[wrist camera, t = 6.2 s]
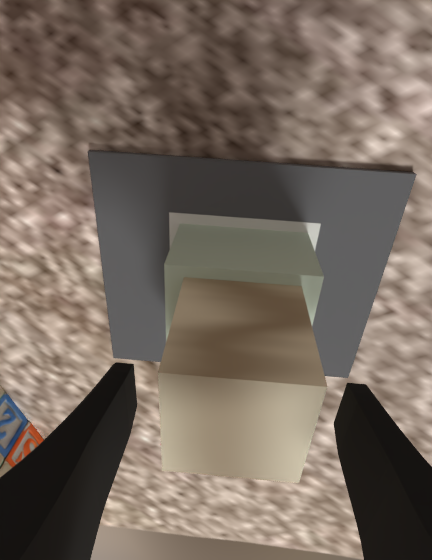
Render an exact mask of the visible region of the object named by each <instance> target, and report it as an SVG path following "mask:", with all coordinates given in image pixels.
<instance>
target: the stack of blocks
mask: <svg viewBox="0 0 432 560" xmlns="http://www.w3.org/2000/svg"><path fill="white" fill-rule="evenodd" d="M42 441H44V440H43V438H42V437H41V436H40V435H39V433H38V432H37V430H36V429H35V428H34V427H33V425H32V424H31V423H30V422H28V421H27V419H26V417H25V416H24V415H23V413H22V412H21V411H20V410H19V408H18V407H17V406H16V405H15V403H14V402H13V401H12V399H11V398H10V397H9V395H8V394H7V393H5V392H4V390H3V388H2V387H1V386H0V477H1V476H3V475H4V474H5V473H6V472H7V471H9V470H10V469H11V468H12V467H14V466H15V465H16V464H17V463H19V462H20V461H21V460H22V459H23V458H24V457H26V456H27V455H28V454H29V453H30V452H31V451H33V450H34V449H35V448H36V447H37V446H38V445H39V444H40V443H41V442H42Z"/></svg>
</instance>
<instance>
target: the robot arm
mask: <svg viewBox="0 0 432 560" xmlns="http://www.w3.org/2000/svg"><path fill="white" fill-rule="evenodd" d="M136 408H137V398H136V386H135V375H134V364H127V363H115V364H113V365H112V367H111V368H110V369H109V370H108V372H107V373H106V374H105V375H104V376H103V378H102V379H101V380H100V381H99V382H98V384H97V385H96V386H95V387H94V388H93V390H92V391H91V392H90V393H89V394H88V395H87V396H86V397H85V399H84V400H83V401H82V402H81V403H80V404H79V405H78V406H77V407H76V408H75V410H74V411H73V412H72V413H71V414H70V415H69V416H68V417H67V418H66V419H65V420H64V421H63V422H62V423H61V424H60V425H59V426H58V427H57V428H56V429H55V430H54V431H53V432H52V433H51V434H50V435H49V436H48V437H47V438H46V439H45V440H44V441H42V442H41V443H40V444H39V445H38V446H37V447H36V448H35V449H34V450H33V451H31V452H30V453H29V454H28V455H27V456H26V457H24V458H23V459H22V460H21V461H20V462H19V463H17V464H16V465H15V466H14V467H12V468H11V469H10V470H9V471H7V472H6V473H5V474H4V475H3V476H1V477H0V560H90V558H91V554H92V550H93V546H94V543H95V539H96V535H97V531H98V528H99V524H100V520H101V516H102V513H103V510H104V507H105V504H106V501H107V498H108V495H109V492H110V489H111V487H112V484H113V481H114V478H115V476H116V473H117V470H118V467H119V464H120V462H121V459H122V456H123V453H124V451H125V448H126V445H127V442H128V439H129V436H130V433H131V429H132V425H133V421H134V417H135V412H136ZM334 428H335V436H336V443H337V449H338V455H339V459H340V463H341V467H342V471H343V474H344V478H345V482H346V486H347V489H348V493H349V497H350V500H351V504H352V508H353V512H354V515H355V519H356V523H357V527H358V531H359V535H360V540H361V545H362V550H363V556H364V560H432V467H431V466H430V465H429V463H428V462H427V461H426V460H425V459H424V458H423V457H422V455H421V454H420V453H419V452H418V451H417V449H416V448H415V447H414V446H413V445H412V443H411V442H410V441H409V440H408V438H407V437H406V436H405V435H404V433H403V432H402V431H401V430H400V429H399V427H398V426H397V425H396V423H395V422H394V421H393V420H392V418H391V417H390V416H389V414H388V413H387V412H386V410H385V409H384V408H383V406H382V405H381V404H380V402H379V401H378V400H377V398H376V397H375V396H374V394H373V393H372V392H371V390H370V389H369V388H368V387H367V385H366V384H354V383H347V385H346V388H345V391H344V394H343V397H342V400H341V403H340V406H339V409H338V412H337V415H336V418H335V421H334Z"/></svg>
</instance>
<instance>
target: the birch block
mask: <svg viewBox="0 0 432 560" xmlns="http://www.w3.org/2000/svg"><path fill="white" fill-rule="evenodd" d="M158 386H159V409H160V431H161V454H162V471H171V472H182V473H192V474H203V475H214V476H225V477H236V478H247V479H258V480H268V481H279V482H290V483H299V481H300V477H301V474H302V470H303V467H304V464H305V460H306V457H307V454H308V450H309V447H310V444H311V440H312V437H313V433H314V430H315V427H316V423H317V420H318V417H319V413H320V410H321V407H322V403H323V400H324V396H325V393H326V390H327V384H326V380H325V376H324V372H323V368H322V364H321V360H320V356H319V352H318V348H317V344H316V340H315V336H314V333H313V329H312V325H311V321H310V317H309V313H308V309H307V305H306V301H305V297H304V293H303V289H302V286H293V285H280V284H267V283H254V282H241V281H228V280H215V279H202V278H189V277H184V279H183V282H182V286H181V290H180V293H179V297H178V301H177V304H176V308H175V312H174V315H173V319H172V323H171V326H170V330H169V334H168V337H167V341H166V345H165V348H164V352H163V356H162V359H161V363H160V367H159V370H158Z"/></svg>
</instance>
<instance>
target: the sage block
mask: <svg viewBox="0 0 432 560" xmlns="http://www.w3.org/2000/svg"><path fill="white" fill-rule="evenodd" d="M184 277H189V278H202V279H215V280H228V281H241V282H254V283H267V284H280V285H293V286H302V289H303V293H304V297H305V301H306V305H307V309H308V313H309V317H310V321H311V325H313V321H314V317H315V313H316V308H317V304H318V300H319V296H320V292H321V288H322V283H323V279H324V275H323V272H322V270H321V267H320V264H319V261H318V259H317V256H316V253H315V251H314V248H313V245H312V242H311V240H310V237H309V234H308V233H303V232H289V231H275V230H262V229H248V228H235V227H221V226H208V225H194V224H181V223H180V224H179V227H178V230H177V232H176V235H175V237H174V240H173V243H172V245H171V248H170V250H169V253H168V256H167V258H166V261H165V263H164V278H165V318H166V341H167V337H168V334H169V330H170V326H171V323H172V319H173V315H174V312H175V308H176V304H177V301H178V297H179V293H180V290H181V286H182V282H183V279H184Z"/></svg>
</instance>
